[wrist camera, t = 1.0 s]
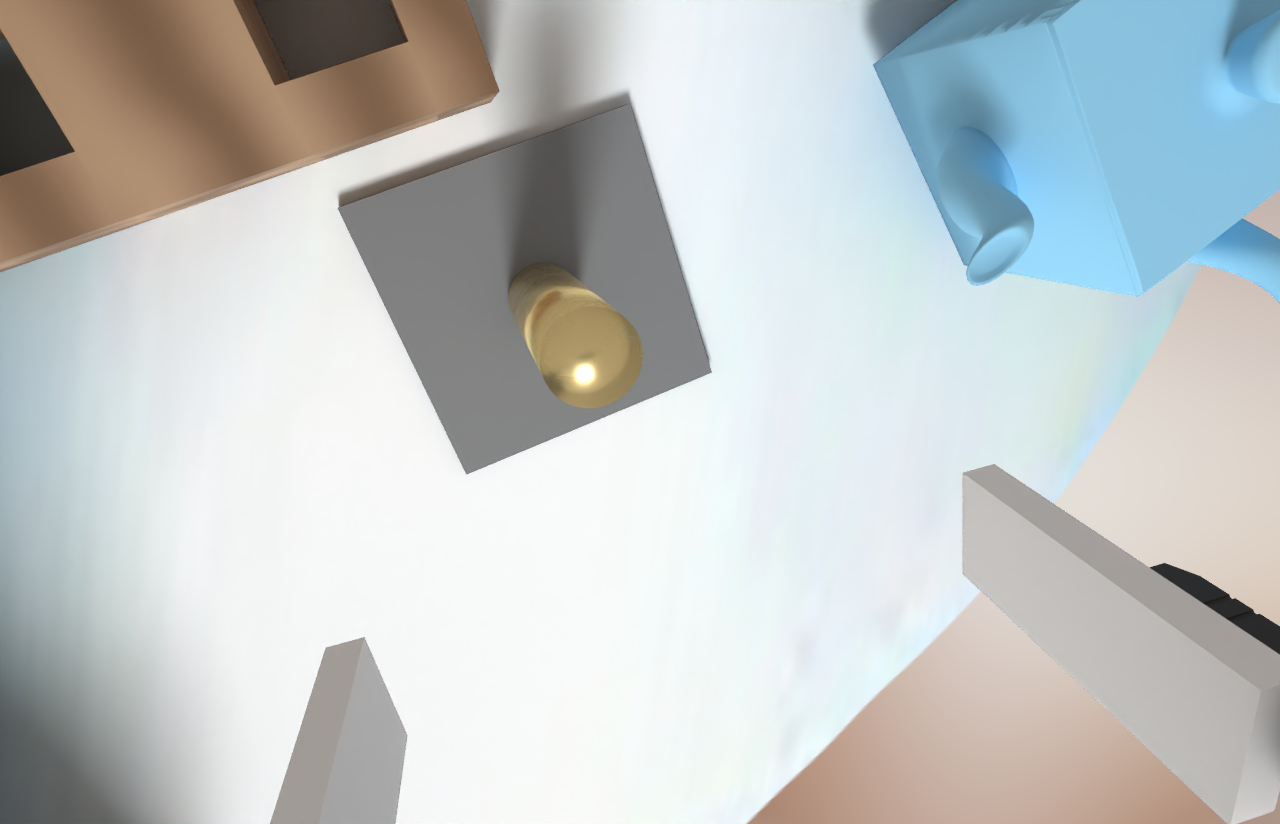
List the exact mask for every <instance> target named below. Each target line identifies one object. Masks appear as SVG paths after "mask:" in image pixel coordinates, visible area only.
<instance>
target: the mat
mask: <svg viewBox="0 0 1280 824" xmlns="http://www.w3.org/2000/svg"><path fill="white" fill-rule="evenodd" d="M338 210H339V212H340V214H341V216H342V218H343V220H344V222H345V224H346V226H347V228H348V231H349V233H350V235H351V237H352V239H353V241H354V243H355V245H356V247H357V249H358V251H359V253H360V255H361V257H362V260H363V262H364V264H365V266H366V268H367V270H368V272H369V274H370V276H371V278H372V280H373V282H374V284H375V286H376V288H377V291H378V293H379V295H380V297H381V299H382V301H383V303H384V305H385V307H386V309H387V311H388V313H389V315H390V317H391V319H392V322H393V324H394V326H395V328H396V330H397V332H398V334H399V336H400V338H401V340H402V342H403V344H404V346H405V348H406V350H407V353H408V355H409V357H410V359H411V361H412V363H413V365H414V367H415V369H416V371H417V373H418V375H419V377H420V379H421V381H422V384H423V386H424V388H425V390H426V392H427V394H428V396H429V398H430V400H431V402H432V404H433V406H434V408H435V410H436V412H437V415H438V417H439V419H440V421H441V423H442V425H443V427H444V429H445V431H446V433H447V435H448V437H449V439H450V441H451V443H452V446H453V448H454V450H455V452H456V454H457V456H458V458H459V460H460V462H461V464H462V466H463V468H464V470H465V472H466V474H469V473H471V472H474V471H476V470H478V469H481V468H483V467H486V466H488V465H490V464H493V463H495V462H498V461H500V460H502V459H505V458H507V457H510V456H512V455H515V454H517V453H519V452H522V451H524V450H527V449H529V448H531V447H534V446H536V445H539V444H541V443H543V442H546V441H548V440H551V439H553V438H555V437H558V436H560V435H563V434H565V433H567V432H570V431H572V430H575V429H577V428H579V427H582V426H584V425H587V424H589V423H591V422H594V421H596V420H599V419H601V418H603V417H606V416H608V415H611V414H613V413H615V412H618V411H620V410H623V409H625V408H628V407H630V406H632V405H635V404H637V403H640V402H642V401H644V400H647V399H649V398H652V397H654V396H656V395H659V394H661V393H664V392H666V391H668V390H671V389H673V388H676V387H678V386H680V385H683V384H685V383H688V382H690V381H692V380H695V379H697V378H700V377H702V376H704V375H707V374H709V373H712V372H711V368H710V365H709V362H708V358H707V355H706V352H705V349H704V345H703V342H702V339H701V335H700V332H699V329H698V325H697V322H696V319H695V316H694V312H693V309H692V306H691V302H690V299H689V296H688V293H687V289H686V286H685V283H684V279H683V276H682V273H681V270H680V266H679V263H678V260H677V256H676V253H675V250H674V246H673V243H672V240H671V237H670V233H669V230H668V227H667V223H666V220H665V217H664V214H663V210H662V207H661V204H660V200H659V197H658V194H657V190H656V187H655V184H654V181H653V177H652V174H651V171H650V167H649V164H648V161H647V158H646V154H645V151H644V148H643V144H642V141H641V138H640V134H639V131H638V128H637V125H636V121H635V118H634V115H633V111H632V108H631V105H630V104H628V105H625V106H622V107H619V108H616V109H614V110H611V111H608V112H605V113H602V114H600V115H597V116H594V117H591V118H588V119H586V120H583V121H580V122H577V123H574V124H572V125H569V126H566V127H563V128H560V129H558V130H555V131H552V132H549V133H546V134H544V135H541V136H538V137H535V138H532V139H529V140H527V141H524V142H521V143H518V144H515V145H513V146H510V147H507V148H504V149H501V150H499V151H496V152H493V153H490V154H487V155H485V156H482V157H479V158H476V159H473V160H471V161H468V162H465V163H462V164H459V165H457V166H454V167H451V168H448V169H445V170H443V171H440V172H437V173H434V174H431V175H428V176H426V177H423V178H420V179H417V180H414V181H412V182H409V183H406V184H403V185H400V186H398V187H395V188H392V189H389V190H386V191H384V192H381V193H378V194H375V195H372V196H370V197H367V198H364V199H361V200H358V201H356V202H353V203H350V204H347V205H344V206H341V207H339V208H338ZM543 262H545V263H552V264H555V265H558V266H560V267H562V268H563V269H565V270H566V271H567V272H569V273H570V274H571V275H572V276H574V277H575V278H576V279H577V280H579V281H580V282H581V283H582V284H584V285H585V286H586V287H588V288H589V289H590V290H591V291H593V292H594V293H595V294H596V295H598V296H599V297H600V298H601V299H603V300H604V301H605V302H606V303H608V304H609V305H610V306H611V307H613V308H614V309H615V310H616V311H618V312H619V313H620V314H621V315H623V316H624V317H625V318H626V319H627V320H628V321H629V322H630V323H631V324H632V325H633V327H634V328H635V330H636V331H637V333H638V335H639V338H640V341H641V344H642V351H643V359H642V366H641V370H640V373H639V375H638V378H637V379H636V381H635V383H634V384H633V386H632V387H631V389H630V390H629V391H628V392H627V393H626V394H625V395H623V396H622V397H621V398H620V399H618V400H617V401H615V402H613V403H611V404H609V405H606V406H602V407H598V408H581V407H576V406H573V405H570V404H568V403H566V402H564V401H562V400H561V399H559V398H558V397H557V396H556V395H554V393H553V392H552V391H551V390H550V389H549V387H548V386H547V384H546V382H545V380H544V378H543V376H542V374H541V372H540V370H539V368H538V366H537V364H536V362H535V360H534V358H533V356H532V354H531V352H530V350H529V348H528V346H527V344H526V342H525V340H524V338H523V336H522V334H521V332H520V330H519V328H518V326H517V324H516V322H515V320H514V318H513V316H512V314H511V312H510V309H509V305H508V292H509V288H510V285H511V283H512V281H513V279H514V278H515V276H516V275H517V274H518V273H519V272H520V271H521V270H522V269H524V268H525V267H527V266H529V265H532V264H535V263H543Z"/></svg>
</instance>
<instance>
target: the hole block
mask: <svg viewBox="0 0 1280 824" xmlns="http://www.w3.org/2000/svg"><path fill="white" fill-rule="evenodd" d="M389 2H390V5H391V7H392V10H393V12H394V14H395V17H396V19H397V22H398V24H399V27H400V29H401V32H402V34H403V37H404V39H405V41H406V43H403V44H400V45H397V46H393V47H390V48H387V49H384V50H381V51H378V52H375V53H372V54H369V55H366V56H363V57H360V58H357V59H354V60H351V61H348V62H345V63H342V64H339V65H336V66H333V67H330V68H327V69H324V70H321V71H318V72H315V73H312V74H309V75H306V76H303V77H299V78H296V79H293V80H291V79H290V77H289V74H288V72H287V70H286V68H285V66H284V64H283V62H282V60H281V58H280V56H279V53H278V51H277V49H276V47H275V45H274V43H273V41H272V39H271V37H270V34H269V32H268V30H267V28H266V26H265V24H264V22H263V20H262V18H261V16H260V13H259V11H258V9H257V7H256V5H255V3H254V1H253V0H0V39H3V38H6V39H7V41H8V42H9V44H10V46H11V47H12V49H13V50H14V52H15V54H16V55H17V57H18V59H19V60H20V62H21V64H22V65H23V67H24V68H25V70H26V72H27V73H28V75H29V77H30V78H31V80H32V82H33V83H34V85H35V86H36V88H37V90H38V91H39V93H40V95H41V96H42V98H43V100H44V101H45V103H46V105H47V106H48V108H49V109H50V111H51V113H52V114H53V116H54V118H55V119H56V121H57V123H58V124H59V126H60V127H61V129H62V131H63V132H64V134H65V136H66V137H67V139H68V141H69V142H70V144H71V145H72V147H73V149H74V150H75V152H72V153H69V154H66V155H63V156H60V157H57V158H54V159H51V160H48V161H45V162H42V163H39V164H36V165H33V166H30V167H27V168H24V169H21V170H18V171H14V172H11V173H8V174H5V175H2V176H0V272H2V271H5V270H8V269H11V268H13V267H16V266H19V265H22V264H25V263H28V262H31V261H34V260H37V259H39V258H42V257H45V256H48V255H51V254H54V253H57V252H60V251H62V250H65V249H68V248H71V247H74V246H77V245H80V244H83V243H86V242H88V241H91V240H94V239H97V238H100V237H103V236H106V235H109V234H112V233H114V232H117V231H120V230H123V229H126V228H129V227H132V226H135V225H138V224H140V223H143V222H146V221H149V220H152V219H155V218H158V217H161V216H163V215H166V214H169V213H172V212H175V211H178V210H181V209H184V208H187V207H189V206H192V205H195V204H198V203H201V202H204V201H207V200H210V199H213V198H215V197H218V196H221V195H224V194H227V193H230V192H233V191H236V190H238V189H241V188H244V187H247V186H250V185H253V184H256V183H259V182H262V181H264V180H267V179H270V178H273V177H276V176H279V175H282V174H285V173H288V172H290V171H293V170H296V169H299V168H302V167H305V166H308V165H311V164H314V163H316V162H319V161H322V160H325V159H328V158H331V157H334V156H337V155H339V154H342V153H345V152H348V151H351V150H354V149H357V148H360V147H363V146H365V145H368V144H371V143H374V142H377V141H380V140H383V139H386V138H389V137H391V136H394V135H397V134H400V133H403V132H406V131H409V130H412V129H414V128H417V127H420V126H423V125H426V124H429V123H432V122H435V121H438V120H440V119H443V118H446V117H449V116H452V115H455V114H458V113H461V112H464V111H466V110H469V109H472V108H475V107H478V106H481V105H484V104H487V103H490V102H491V101H492V100H493V98H494V97H495V96H496V94H497V93H498V92H499V89H498V86H497V83H496V80H495V78H494V75H493V72H492V70H491V67H490V64H489V62H488V59H487V56H486V53H485V51H484V48H483V45H482V43H481V40H480V37H479V35H478V32H477V29H476V26H475V24H474V21H473V18H472V16H471V13H470V10H469V7H468V5H467V2H466V0H389Z"/></svg>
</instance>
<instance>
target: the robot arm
mask: <svg viewBox="0 0 1280 824" xmlns="http://www.w3.org/2000/svg"><path fill="white" fill-rule="evenodd" d="M962 574H963V575H964V576H965V577H966V578H968V579H969V580H970V581H971V582H972V583H973V584H974V585H975V586H976V587H977V588H978V589H979V590H980V591H981V592H982V593H983V594H985V595H986V596H987V597H988V598H989V599H990V600H991V601H992V602H993V603H994V604H995V605H996V606H997V607H998V608H999V609H1000V610H1001V611H1003V612H1004V613H1005V614H1006V615H1007V616H1008V617H1009V618H1010V619H1011V620H1012V621H1013V622H1014V623H1015V624H1016V625H1018V627H1020V628H1021V629H1022V630H1023V631H1024V632H1025V633H1026V634H1027V635H1028V636H1029V637H1030V638H1031V639H1032V640H1033V641H1034V642H1035V643H1036V644H1038V645H1039V646H1040V647H1041V648H1042V649H1043V650H1044V651H1045V652H1046V653H1047V654H1048V655H1049V656H1050V657H1051V658H1052V659H1053V660H1055V661H1056V662H1057V663H1058V664H1059V665H1060V666H1061V667H1062V668H1063V669H1064V670H1065V671H1066V672H1067V673H1068V674H1070V675H1071V677H1073V678H1074V679H1075V680H1076V681H1077V682H1078V683H1079V684H1080V685H1081V686H1082V687H1083V688H1084V689H1085V690H1086V691H1087V692H1088V693H1089V694H1091V695H1092V696H1093V697H1094V698H1095V699H1096V700H1097V701H1098V702H1099V703H1100V704H1101V705H1102V706H1103V707H1104V708H1105V709H1106V710H1107V711H1109V712H1110V713H1111V714H1112V715H1113V716H1114V717H1115V718H1116V719H1117V720H1118V721H1119V722H1120V723H1121V724H1122V725H1123V726H1124V727H1126V728H1127V729H1128V730H1129V731H1130V732H1131V733H1132V734H1133V735H1134V736H1135V737H1136V738H1137V739H1138V740H1139V741H1140V742H1142V744H1143V745H1145V746H1146V747H1147V748H1148V749H1149V750H1150V751H1151V752H1152V753H1153V754H1154V755H1155V756H1156V757H1157V758H1158V759H1160V761H1162V762H1163V763H1164V764H1165V765H1166V766H1167V767H1168V768H1169V769H1170V770H1171V771H1172V772H1173V773H1174V774H1175V775H1176V776H1177V777H1178V778H1180V779H1181V780H1182V781H1183V782H1184V783H1185V784H1186V785H1187V786H1188V787H1189V788H1190V789H1191V790H1192V791H1193V792H1194V793H1195V794H1196V795H1198V796H1199V797H1200V798H1201V799H1202V800H1203V801H1204V802H1205V803H1206V804H1207V805H1208V806H1209V807H1211V809H1212V810H1213V811H1215V812H1216V813H1217V814H1218V815H1219V816H1220V817H1221V818H1222V819H1223V820H1224V821H1225V822H1226V823H1227V824H1238V823H1241V822H1243V821H1246V820H1249V819H1252V818H1255V817H1258V816H1261V815H1264V814H1267V813H1269V812H1272V811H1274V810H1275V806H1276V802H1277V798H1278V794H1279V790H1280V626H1278V625H1277V624H1275V623H1273V622H1272V621H1270V620H1269V619H1267V618H1265V617H1264V616H1262V615H1261V614H1255V613H1254V611H1253V609H1251V608H1250V607H1248V606H1246V605H1245V604H1243V603H1242V602H1240V601H1239V600H1237V599H1231V598H1230V596H1229V594H1227V593H1226V592H1224V591H1222V590H1221V589H1219V588H1218V587H1216V586H1215V585H1213V584H1212V583H1210V582H1208V581H1207V580H1205V579H1204V578H1202V577H1201V576H1198V575H1196V574H1193V573H1190V572H1187V571H1184V570H1182V569H1179V568H1177V567H1174V566H1171V565H1168V564H1166V563H1163V564H1160V565H1157V566H1153V567H1150V568H1149V567H1148V566H1146V565H1144V564H1143V563H1142V562H1140V561H1138V560H1137V559H1136V558H1134V557H1133V556H1131V555H1130V554H1128V553H1127V552H1125V551H1124V550H1122V549H1121V548H1119V547H1118V546H1116V545H1115V544H1113V543H1112V542H1110V541H1109V540H1107V539H1106V538H1104V537H1103V536H1101V535H1100V534H1098V533H1097V532H1095V531H1094V530H1092V529H1090V528H1089V527H1088V526H1086V525H1085V524H1083V523H1081V522H1080V521H1079V520H1077V519H1076V518H1074V517H1073V516H1071V515H1070V514H1068V513H1066V512H1065V511H1064V510H1062V509H1061V508H1059V507H1057V506H1056V505H1055V504H1053V503H1052V502H1050V501H1049V500H1047V499H1046V498H1044V497H1043V496H1041V495H1040V494H1038V493H1037V492H1035V491H1034V490H1032V489H1031V488H1029V487H1028V486H1026V485H1025V484H1023V483H1022V482H1020V481H1019V480H1017V479H1016V478H1014V477H1013V476H1011V475H1010V474H1008V473H1007V472H1005V471H1004V470H1002V469H1001V468H999V467H998V466H996V465H995V464H993V465H989V466H986V467H982V468H978V469H975V470H971V471H968V472H964V473H963V563H962ZM406 742H407V734H406V731H405V729H404V727H403V724H402V722H401V720H400V718H399V715H398V713H397V711H396V708H395V706H394V704H393V702H392V699H391V697H390V695H389V692H388V690H387V688H386V686H385V683H384V681H383V679H382V676H381V674H380V672H379V670H378V667H377V665H376V663H375V660H374V658H373V656H372V654H371V651H370V649H369V647H368V644H367V642H366V640H365V638H364V637H363V638H360V639H356V640H353V641H349V642H345V643H342V644H338V645H334V646H331V647H327V648H326V649H325V652H324V655H323V658H322V661H321V665H320V668H319V671H318V674H317V677H316V680H315V684H314V687H313V690H312V693H311V696H310V699H309V702H308V706H307V709H306V712H305V715H304V718H303V721H302V725H301V728H300V731H299V734H298V737H297V740H296V744H295V747H294V750H293V753H292V756H291V759H290V762H289V766H288V769H287V772H286V775H285V778H284V781H283V785H282V788H281V791H280V794H279V797H278V800H277V804H276V807H275V810H274V813H273V816H272V819H271V823H270V824H395V822H396V815H397V807H398V800H399V793H400V785H401V778H402V771H403V764H404V756H405V749H406Z"/></svg>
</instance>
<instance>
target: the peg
mask: <svg viewBox="0 0 1280 824" xmlns="http://www.w3.org/2000/svg"><path fill="white" fill-rule="evenodd" d="M508 305H509V309H510V312H511V314H512V316H513V318H514V320H515V322H516V324H517V326H518V328H519V330H520V332H521V334H522V336H523V338H524V340H525V342H526V344H527V346H528V348H529V350H530V352H531V354H532V356H533V358H534V360H535V362H536V364H537V366H538V368H539V370H540V372H541V374H542V376H543V378H544V380H545V382H546V384H547V386H548V387H549V389H550V390H551V391H552V392H553V393H554V395H556V396H557V397H558V398H559V399H561V400H562V401H564V402H566V403H568V404H570V405H573V406H576V407H581V408H598V407H602V406H606V405H609V404H611V403H613V402H615V401H617V400H618V399H620V398H621V397H622V396H623V395H625V394H626V393H627V392H628V391H629V390H630V389H631V387H632V386H633V384H634V383H635V381H636V379H637V378H638V375H639V373H640V370H641V366H642V359H643V351H642V344H641V341H640V338H639V335H638V333H637V331H636V330H635V328H634V327H633V325H632V324H631V323H630V322H629V321H628V320H627V319H626V318H625V317H624V316H623V315H621V314H620V313H619V312H618V311H616V310H615V309H614V308H613V307H611V306H610V305H609V304H608V303H606V302H605V301H604V300H603V299H601V298H600V297H599V296H598V295H596V294H595V293H594V292H593V291H591V290H590V289H589V288H588V287H586V286H585V285H584V284H582V283H581V282H580V281H579V280H577V279H576V278H575V277H574V276H572V275H571V274H570V273H569V272H567V271H566V270H565V269H563V268H562V267H560V266H558V265H555V264H552V263H545V262H543V263H535V264H532V265H529V266H527V267H525V268H524V269H522V270H521V271H520V272H519V273H518V274H517V275H516V276H515V278H514V279H513V281H512V283H511V285H510V288H509V292H508Z"/></svg>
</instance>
